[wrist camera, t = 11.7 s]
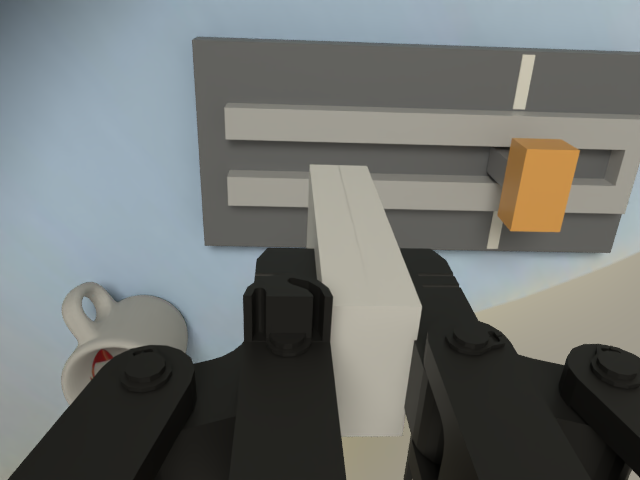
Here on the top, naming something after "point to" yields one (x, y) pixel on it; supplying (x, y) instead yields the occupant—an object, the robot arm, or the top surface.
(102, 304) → the cup
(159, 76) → the top surface
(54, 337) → the top surface
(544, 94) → the fader console
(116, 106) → the top surface
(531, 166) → the fader knob
